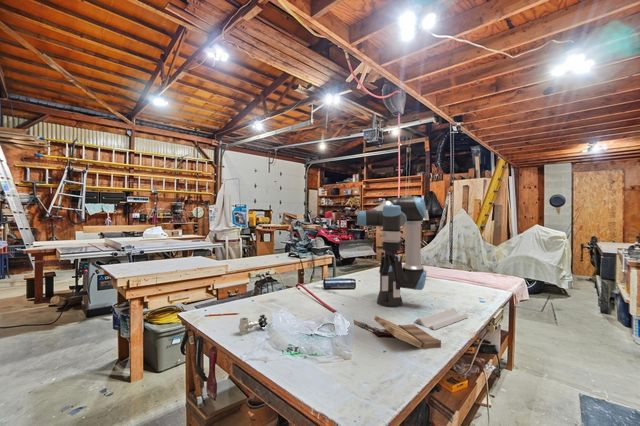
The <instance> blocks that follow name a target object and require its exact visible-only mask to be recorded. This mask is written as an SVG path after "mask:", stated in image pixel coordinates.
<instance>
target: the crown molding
mask: <svg viewBox="0 0 640 426" xmlns="http://www.w3.org/2000/svg"><path fill="white" fill-rule="evenodd" d="M467 318H469V316H468V314H467V313H464V314H459V313H458V311H457V309H455V308H454V307H451V308H449V309H445V310H442V311H438V312H435V313H433V314H429V315H425V316H422V317H418V318H417V319H416V320H414V321H413V323H412V324H418V325H421V326H422V327H424V328H427V329H429V330H431V329H432V330H433V331H435V330H438V329H441V328H443V327H446V326H448V325H451V324H455V323H457V322H459V321H462V320H465V319H467Z"/></svg>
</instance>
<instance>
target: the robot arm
mask: <svg viewBox="0 0 640 426" xmlns="http://www.w3.org/2000/svg"><path fill="white" fill-rule="evenodd" d="M425 218H427V208H426V203H425V200H424V198H423V197H416V196H413V197H394V198H389V199H386V200H384V201H382V202H380V204H379V205H377V206H376V207H374V208H372V209H369V210H366V209H365V210H360V211H358V212H357V217H356V219H357V220H356V221H357V224H358V226H361V227H380V228H381V227H382V234H381V236H382V237H381V239H382V242H381V243H382V246H381V247H382V248H381V249H382V251H384V252H380V254H381V255H380V256H381V257H380V265H379V271H378V272H379V292H378V294H377V298H376V303H377V305H380V306H384V307H386V308H399V307H402V305H403V299H402V295H401V289H408V290H414V291H422V290H423V289H424V288H425V285H426V281H427V279H426V278H427V270H426V269H424V266H423V264H422V259H421V258H422V256H421V253H422V252H421V250H422V249H421V248H422V245H421V242H422V241H421V232H422V231H421V226H422V225H421V224H422V223H423V221H424V219H425ZM403 226H404V237H405V241H404V245H405V246H404V247H405V248H404V249H405V250H404V251H405V252H404V253H405V256H404V257H405V260H404V262H405V263H404V264H403V262H402V261H403V256H402V255H398V252H400V251H401V242H400V241H401V227H403Z"/></svg>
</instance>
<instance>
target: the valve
mask: <svg viewBox="0 0 640 426" xmlns="http://www.w3.org/2000/svg"><path fill="white" fill-rule="evenodd" d="M267 320H268V318H267V317H266V315H265V314H261V315H259V318H258V321H257V320H256V321H252V320H251V321H249V317H241V318H240V319H239V325H238V329H239V336H242V335H244V336H247V335H248V334H249V333H248V332H249V330H251V329H253V327H257V326H259V328H262V327H265V326H266V327H267V326H268V322H267ZM247 333H248V334H247ZM246 334H247V335H246Z"/></svg>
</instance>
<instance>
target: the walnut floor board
mask: <svg viewBox="0 0 640 426" xmlns="http://www.w3.org/2000/svg"><path fill="white" fill-rule="evenodd" d="M397 325H398V326H399V327H401V328H402V329H403V330H405V331H406V332H408V333H409V334H410V335H412V336H413V337H414V338H416V339H417V340H419V341H420V342H421V343H422V345H421V349H423V350H426V349H435V348H442V342H441V341H440V340H438V339H437V338H436V337H434V336H433V335H430V334H429V333H428V332H426V331H424V330H423V329H421V328H420V327H418V326H417V325H415V323H412V324H397Z"/></svg>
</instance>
